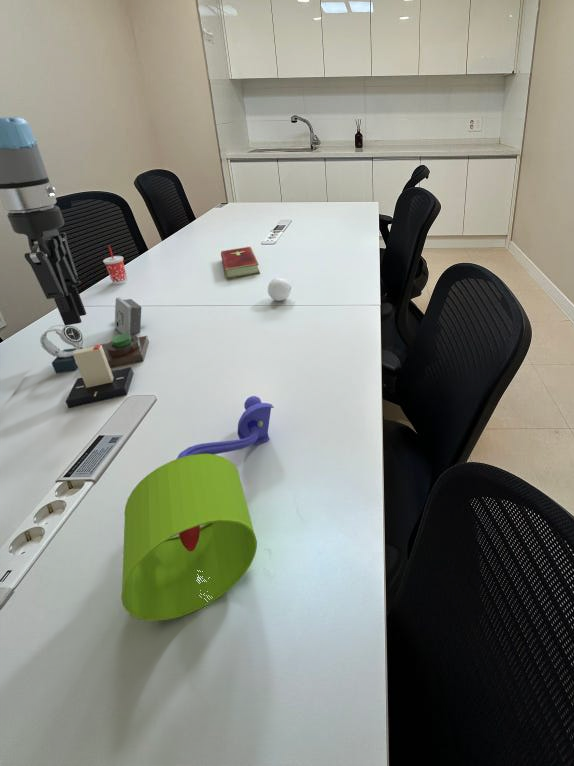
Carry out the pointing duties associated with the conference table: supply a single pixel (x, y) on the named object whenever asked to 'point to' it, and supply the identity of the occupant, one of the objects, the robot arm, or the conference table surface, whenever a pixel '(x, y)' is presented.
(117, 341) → the button
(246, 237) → the conference table surface
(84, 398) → the dimmer panel
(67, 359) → the watch
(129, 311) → the electrical switch
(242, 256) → the hardcover book
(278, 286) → the white ovoid piece
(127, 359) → the switch block
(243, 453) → the conference table surface
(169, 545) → the wall lamp
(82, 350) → the cream rectangular block
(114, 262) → the beverage cup
